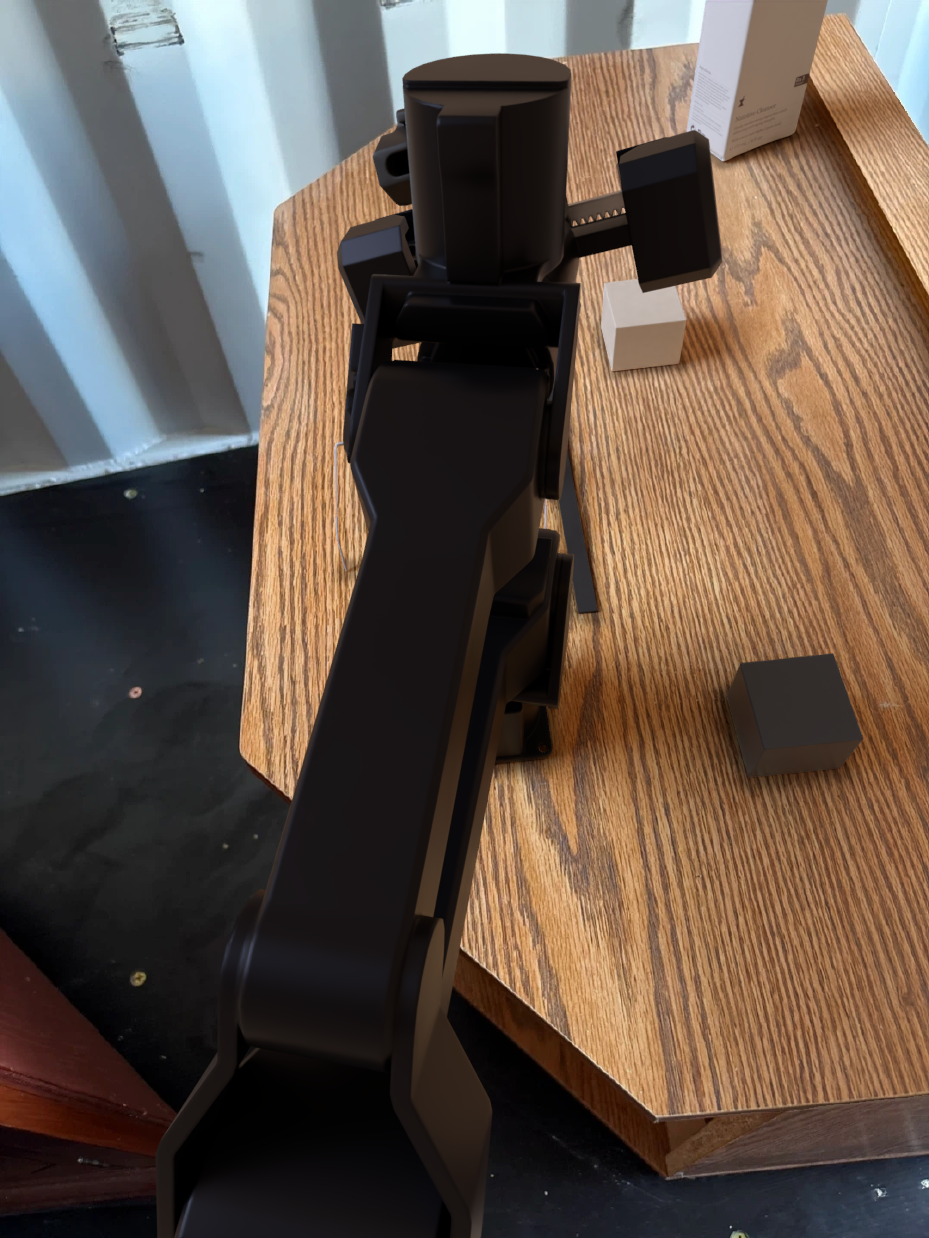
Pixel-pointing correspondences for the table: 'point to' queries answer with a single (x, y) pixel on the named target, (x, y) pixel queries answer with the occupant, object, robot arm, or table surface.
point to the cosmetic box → (752, 71)
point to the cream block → (641, 325)
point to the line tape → (576, 543)
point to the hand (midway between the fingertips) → (543, 191)
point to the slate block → (792, 715)
